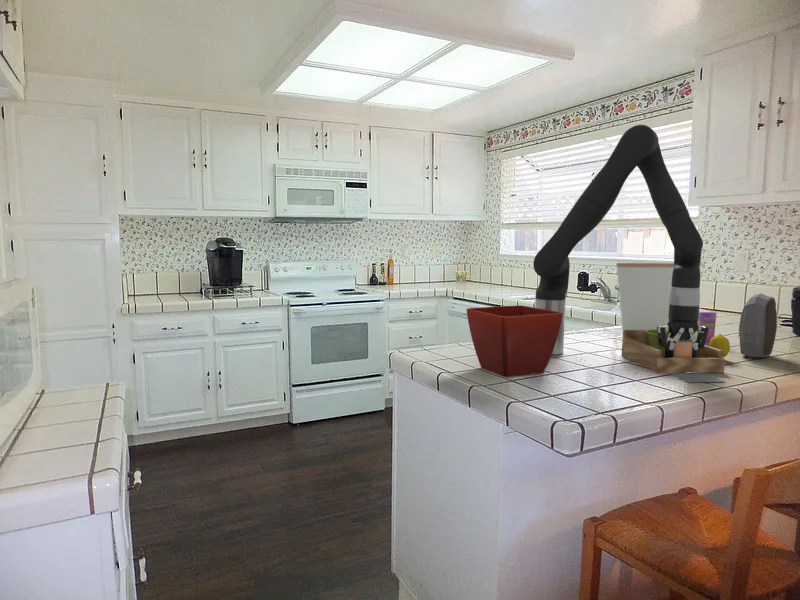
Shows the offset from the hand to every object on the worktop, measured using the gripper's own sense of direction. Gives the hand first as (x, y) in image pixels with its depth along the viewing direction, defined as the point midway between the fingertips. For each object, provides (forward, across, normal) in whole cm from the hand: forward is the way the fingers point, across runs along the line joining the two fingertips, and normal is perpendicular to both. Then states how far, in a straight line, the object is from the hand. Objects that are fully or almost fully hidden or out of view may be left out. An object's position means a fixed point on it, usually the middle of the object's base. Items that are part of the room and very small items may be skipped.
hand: (680, 362), depth 153 cm
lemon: (+2, +18, +10) cm, 21 cm away
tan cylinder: (+2, 0, 0) cm, 2 cm away
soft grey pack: (+2, +33, +16) cm, 37 cm away
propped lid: (+2, 0, +22) cm, 22 cm away
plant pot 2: (+2, 0, +10) cm, 10 cm away
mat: (+2, -2, -12) cm, 12 cm away
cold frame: (+2, 0, +6) cm, 6 cm away
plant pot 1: (+2, -49, -2) cm, 49 cm away
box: (+2, +28, +38) cm, 47 cm away
